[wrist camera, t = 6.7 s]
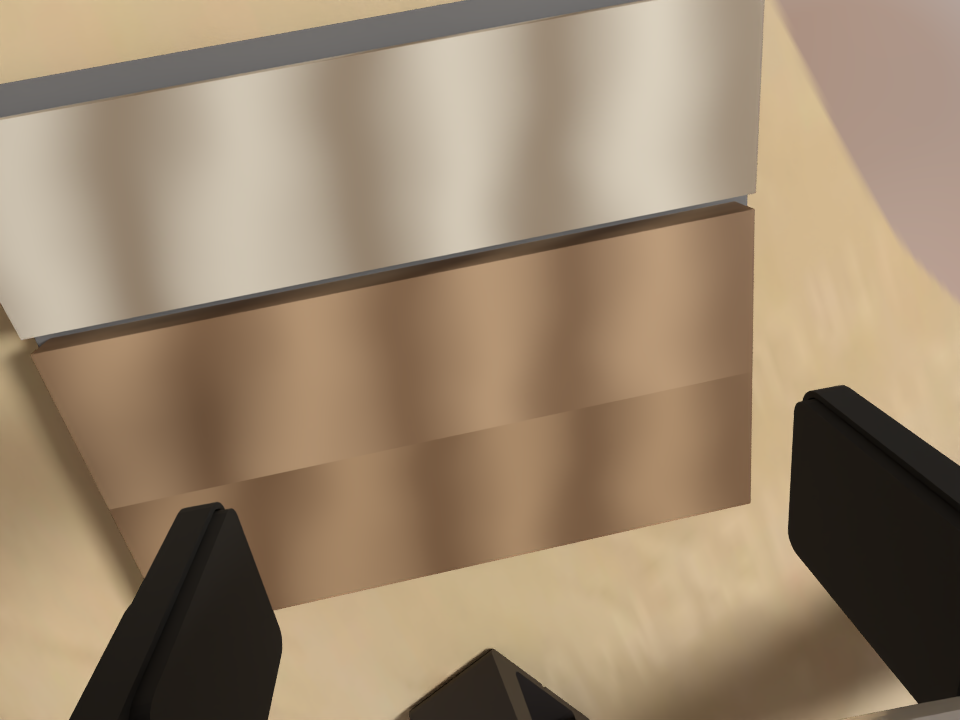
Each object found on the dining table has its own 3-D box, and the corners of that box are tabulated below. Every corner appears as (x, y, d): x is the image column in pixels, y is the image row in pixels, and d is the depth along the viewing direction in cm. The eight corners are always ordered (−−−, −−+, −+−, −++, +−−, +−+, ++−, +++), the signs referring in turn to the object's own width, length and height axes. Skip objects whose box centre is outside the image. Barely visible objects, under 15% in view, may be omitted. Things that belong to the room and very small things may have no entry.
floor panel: (734, -47, 23) (773, -58, 20) (734, 474, 32) (760, 506, 30) (-65, 98, 21) (-118, 102, 19) (178, 598, 31) (162, 640, 29)
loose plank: (742, -18, 22) (765, -20, 20) (735, 183, 25) (755, 193, 24) (-63, 128, 20) (-93, 136, 19) (40, 321, 24) (21, 339, 22)
